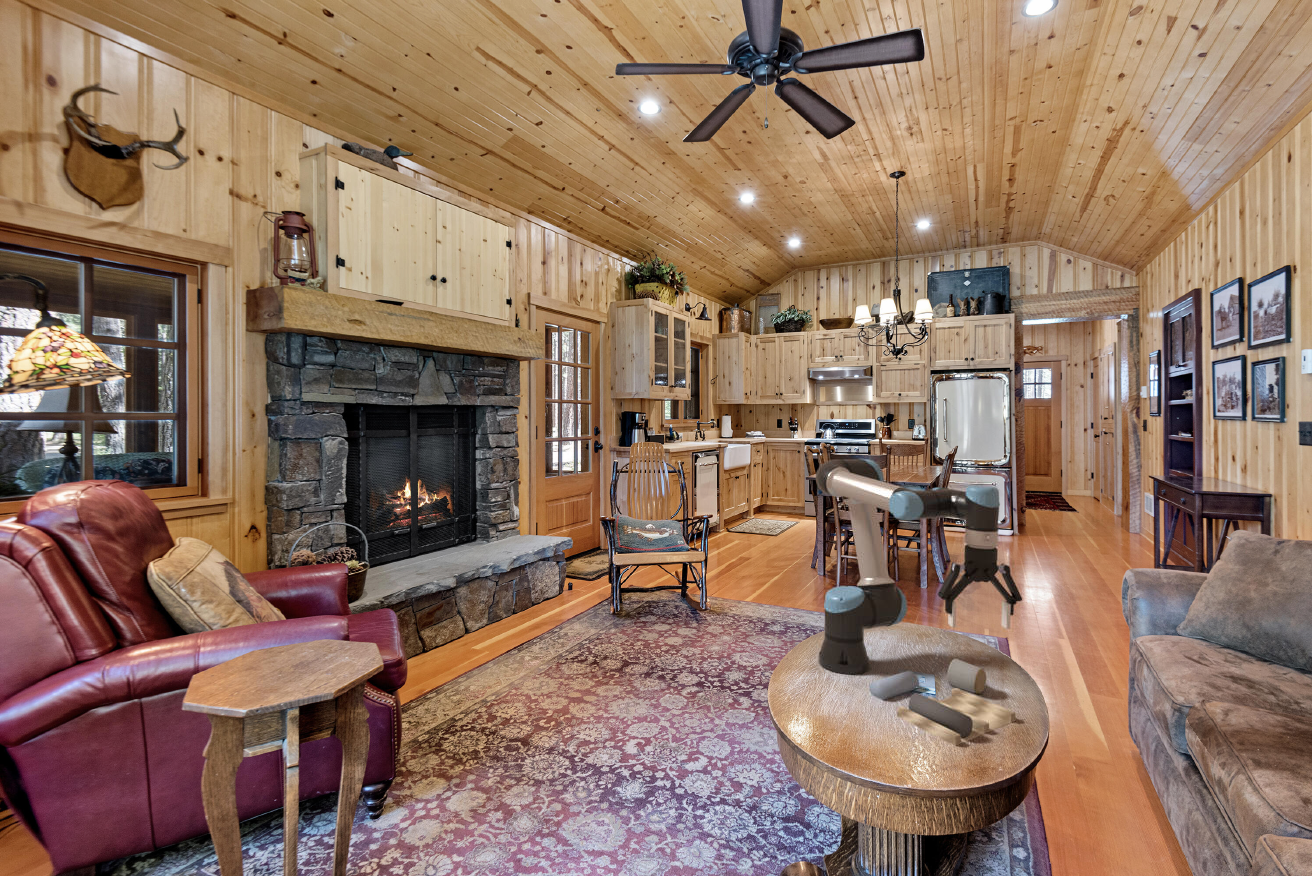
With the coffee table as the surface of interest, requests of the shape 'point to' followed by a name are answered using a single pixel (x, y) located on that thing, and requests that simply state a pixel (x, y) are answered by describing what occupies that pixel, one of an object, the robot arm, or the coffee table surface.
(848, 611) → the robot arm
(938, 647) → the coffee table surface
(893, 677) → the gray dowel
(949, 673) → the ceramic mug
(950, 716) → the charcoal rod
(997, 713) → the slot rack
